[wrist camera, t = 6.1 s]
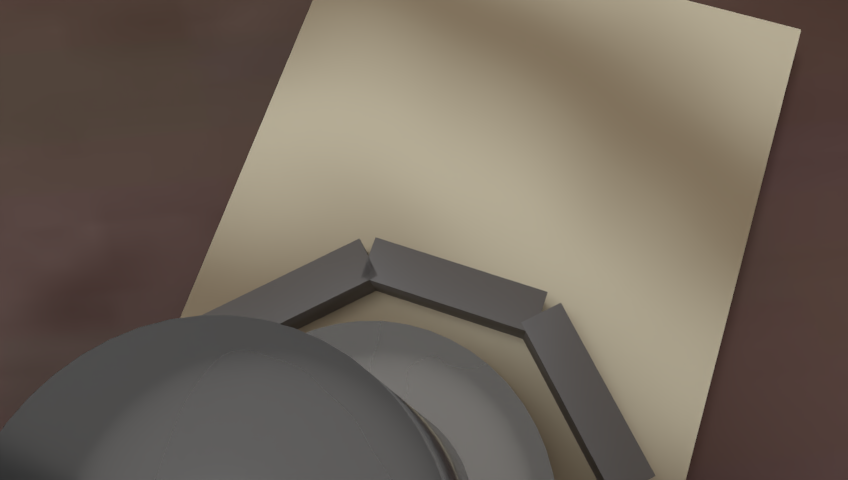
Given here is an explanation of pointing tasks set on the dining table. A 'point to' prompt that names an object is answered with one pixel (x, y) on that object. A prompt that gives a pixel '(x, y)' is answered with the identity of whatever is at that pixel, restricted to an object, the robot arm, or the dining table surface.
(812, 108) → the dining table surface
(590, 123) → the carrier board
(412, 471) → the round base post
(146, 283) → the dining table surface
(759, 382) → the dining table surface
